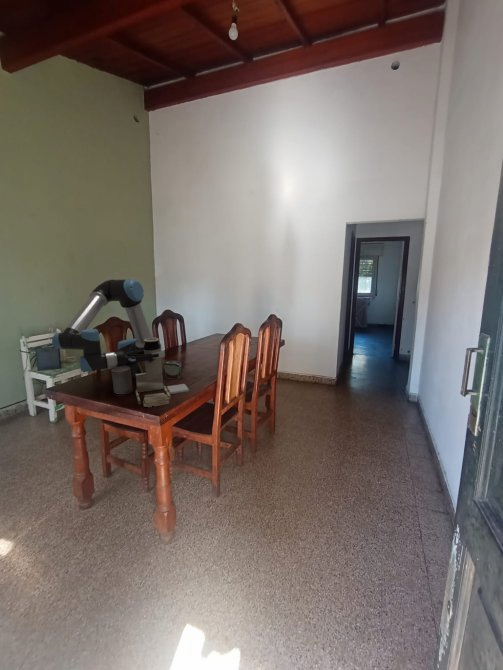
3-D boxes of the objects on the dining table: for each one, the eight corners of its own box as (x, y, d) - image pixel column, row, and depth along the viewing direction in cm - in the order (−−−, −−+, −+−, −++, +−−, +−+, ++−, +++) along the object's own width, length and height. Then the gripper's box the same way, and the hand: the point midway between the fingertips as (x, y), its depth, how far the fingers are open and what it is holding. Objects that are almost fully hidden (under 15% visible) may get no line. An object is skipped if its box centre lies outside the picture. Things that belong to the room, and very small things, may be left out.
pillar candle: (130, 388, 192) (127, 362, 189) (134, 393, 184) (132, 366, 181) (112, 391, 187) (109, 365, 184) (116, 397, 179) (112, 370, 176)
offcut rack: (135, 391, 186) (133, 374, 184) (164, 387, 192) (163, 370, 190) (140, 409, 163) (138, 389, 161) (173, 403, 169) (172, 384, 167)
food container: (186, 377, 209) (185, 361, 207) (180, 380, 204) (179, 364, 202) (170, 374, 214) (169, 359, 212) (164, 377, 209) (162, 362, 207)
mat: (167, 388, 191) (167, 386, 191) (184, 385, 195) (184, 383, 195) (170, 394, 182) (170, 392, 182) (188, 391, 186) (188, 389, 186)
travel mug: (151, 370, 179) (149, 337, 176) (164, 371, 177) (162, 338, 173) (142, 375, 172) (139, 340, 168) (156, 376, 170) (153, 341, 166)
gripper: (111, 362, 172) (155, 355, 184) (121, 372, 155) (169, 363, 167) (110, 347, 170) (154, 341, 183) (119, 356, 153) (168, 349, 166)
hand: (161, 352), depth 175 cm, fingers closed on travel mug, 8 cm apart
